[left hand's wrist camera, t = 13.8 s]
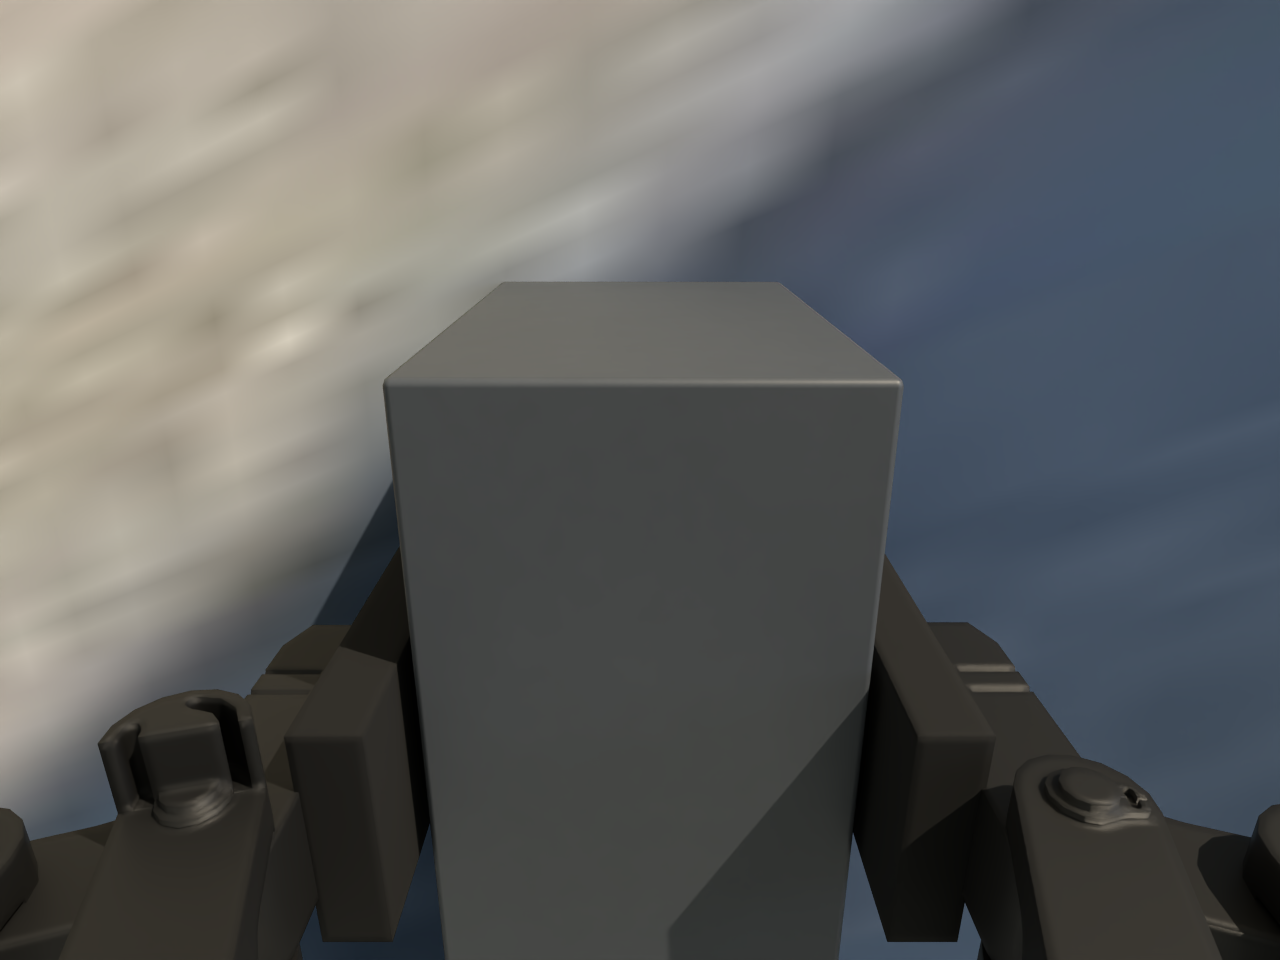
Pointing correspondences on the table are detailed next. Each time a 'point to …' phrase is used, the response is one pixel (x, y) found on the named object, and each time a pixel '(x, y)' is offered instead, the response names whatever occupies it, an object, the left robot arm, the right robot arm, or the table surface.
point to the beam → (642, 615)
